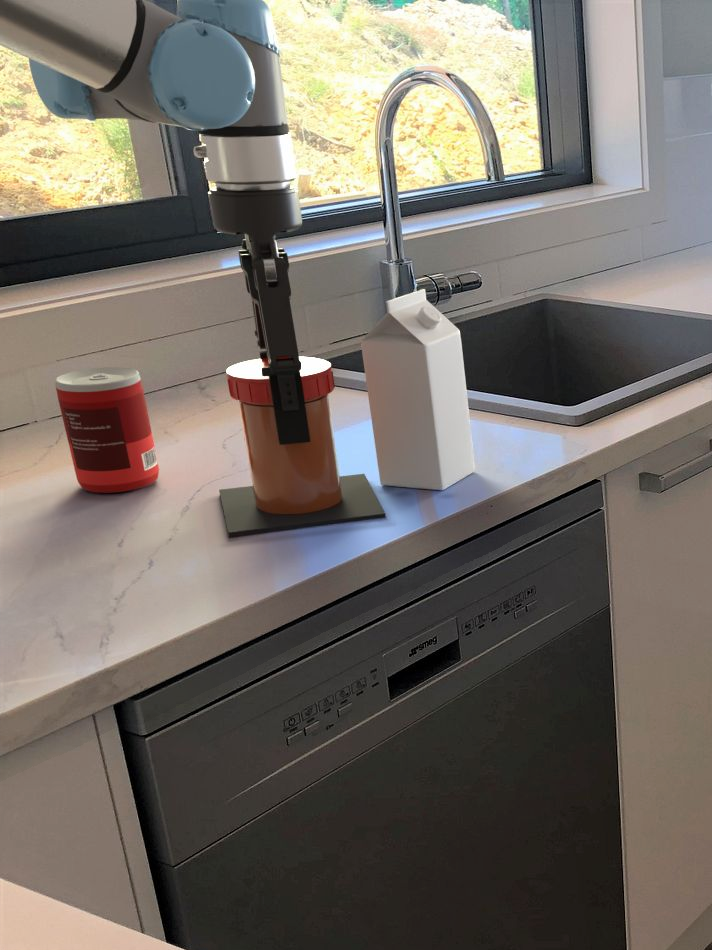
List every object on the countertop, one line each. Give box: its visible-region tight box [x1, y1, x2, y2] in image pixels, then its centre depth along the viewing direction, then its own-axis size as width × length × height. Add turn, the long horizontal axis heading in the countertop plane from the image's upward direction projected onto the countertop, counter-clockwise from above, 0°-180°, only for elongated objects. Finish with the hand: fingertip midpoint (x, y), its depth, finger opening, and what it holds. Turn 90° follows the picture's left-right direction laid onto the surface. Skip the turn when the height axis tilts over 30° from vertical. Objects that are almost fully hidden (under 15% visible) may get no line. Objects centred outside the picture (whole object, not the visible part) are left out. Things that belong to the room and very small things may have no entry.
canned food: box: [54, 366, 160, 494], centre depth 140 cm, size 8×8×11 cm
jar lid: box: [225, 356, 336, 404], centre depth 132 cm, size 9×9×2 cm
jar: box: [238, 394, 343, 514], centre depth 134 cm, size 8×8×12 cm
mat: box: [218, 473, 387, 538], centre depth 137 cm, size 14×14×1 cm
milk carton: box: [360, 288, 476, 491], centre depth 141 cm, size 7×7×19 cm
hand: (289, 429), depth 134 cm, fingers closed on jar lid, 9 cm apart
